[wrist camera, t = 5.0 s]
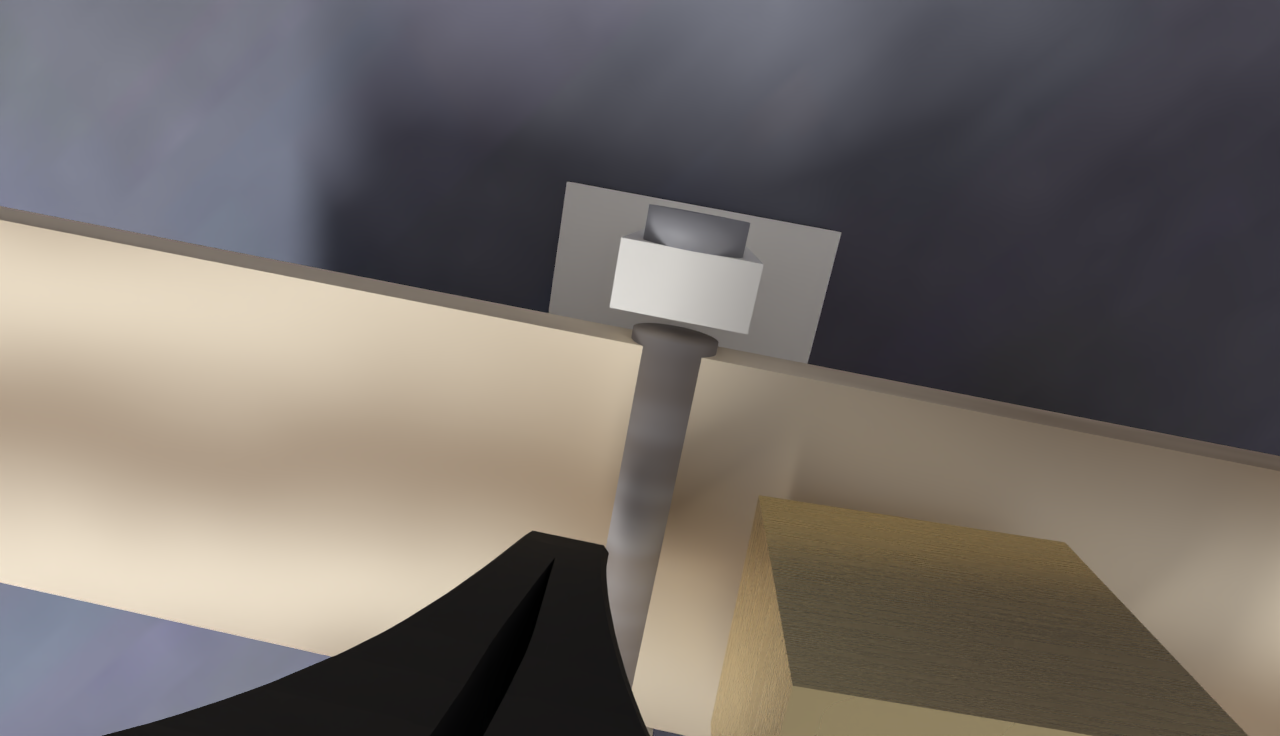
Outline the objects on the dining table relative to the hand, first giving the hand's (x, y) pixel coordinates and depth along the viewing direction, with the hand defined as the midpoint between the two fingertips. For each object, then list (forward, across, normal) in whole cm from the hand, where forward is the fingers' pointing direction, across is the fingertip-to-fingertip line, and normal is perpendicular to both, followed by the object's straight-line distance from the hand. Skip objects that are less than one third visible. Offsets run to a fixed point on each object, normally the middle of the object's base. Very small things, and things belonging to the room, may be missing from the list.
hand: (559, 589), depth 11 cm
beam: (+5, -1, 0) cm, 5 cm away
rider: (+1, -6, 0) cm, 6 cm away
